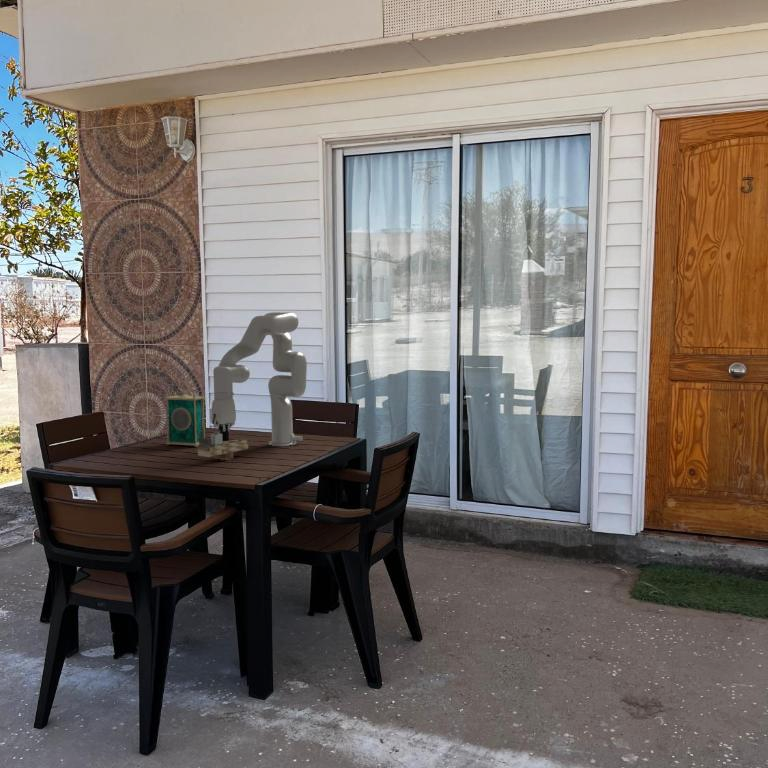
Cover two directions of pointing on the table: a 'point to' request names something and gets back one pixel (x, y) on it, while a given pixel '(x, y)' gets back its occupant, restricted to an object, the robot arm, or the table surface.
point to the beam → (221, 448)
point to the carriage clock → (185, 418)
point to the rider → (216, 439)
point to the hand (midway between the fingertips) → (224, 440)
